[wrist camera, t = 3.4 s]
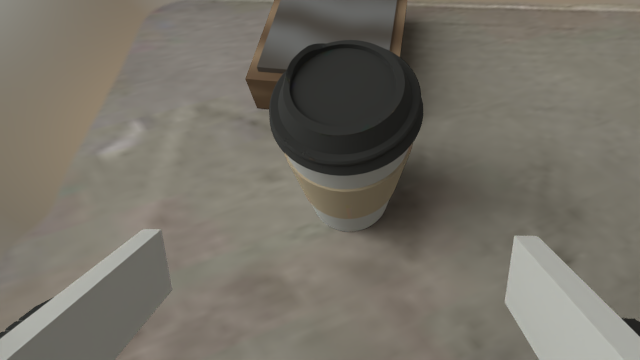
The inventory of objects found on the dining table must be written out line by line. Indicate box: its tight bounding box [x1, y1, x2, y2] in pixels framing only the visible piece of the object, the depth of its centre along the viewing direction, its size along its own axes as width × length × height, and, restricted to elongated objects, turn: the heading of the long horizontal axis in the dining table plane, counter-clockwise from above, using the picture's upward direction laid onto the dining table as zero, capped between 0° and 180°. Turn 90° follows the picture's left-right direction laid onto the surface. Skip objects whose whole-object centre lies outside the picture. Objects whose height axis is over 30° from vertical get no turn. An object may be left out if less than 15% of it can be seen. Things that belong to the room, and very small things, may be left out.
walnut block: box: [246, 0, 407, 109], centre depth 38 cm, size 14×14×5 cm
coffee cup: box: [269, 40, 423, 232], centre depth 26 cm, size 9×9×15 cm
